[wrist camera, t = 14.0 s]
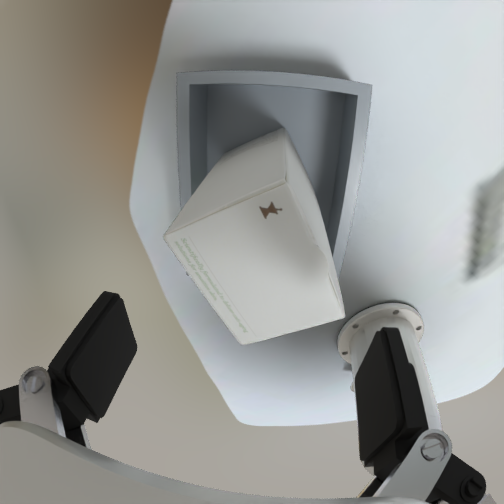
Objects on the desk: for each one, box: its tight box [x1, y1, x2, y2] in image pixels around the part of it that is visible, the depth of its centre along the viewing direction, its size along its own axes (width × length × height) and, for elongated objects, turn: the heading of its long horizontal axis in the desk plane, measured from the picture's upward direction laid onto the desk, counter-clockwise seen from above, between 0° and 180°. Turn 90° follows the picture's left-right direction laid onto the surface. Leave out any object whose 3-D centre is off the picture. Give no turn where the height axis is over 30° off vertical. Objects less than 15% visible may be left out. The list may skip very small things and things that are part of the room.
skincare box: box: [163, 128, 345, 345], centre depth 20 cm, size 8×7×16 cm
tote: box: [177, 70, 372, 280], centre depth 25 cm, size 18×14×6 cm
